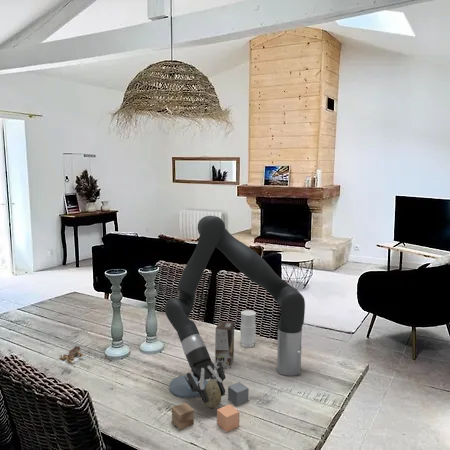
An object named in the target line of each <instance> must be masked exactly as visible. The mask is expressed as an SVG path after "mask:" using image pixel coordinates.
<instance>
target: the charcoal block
mask: <svg viewBox="0 0 450 450" xmlns="http://www.w3.org/2000/svg"><path fill="white" fill-rule="evenodd" d="M227 400H228V401H229V402H231V403H232V404H233V405H235V406H236V407H239V406H240V405H243V404H246V403H249V387H248V386H246V385H245V384H244V383H243V382H241V381H238V382H236V383H233V384H231V385H228V386H227Z"/></svg>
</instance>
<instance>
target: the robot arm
mask: <svg viewBox="0 0 450 450" xmlns="http://www.w3.org/2000/svg"><path fill="white" fill-rule="evenodd" d="M197 232H198V234H199V238H198V241H197V244H196V247H195V249H194V251H193V253H192V255H191V257H190V258H189V260H188V262H187V263H186V265H185V267H184V269H183V271H182V273H181V276H180V278H179V280H178V283H177V290H178V291H179V297H178V298H177V297H176V298H175V297H172V298H169V299H168V300H166V302H165V305H164V313H165V315H166V318H167V319H168V321H169V323H170V324H171V326H172V327H173V328H174V330H175V331H176V333H177V336H178V337H179V341H180V344H181V348H182V351H183V354H184V355H185V358H186V361H187V363H188V365H189V367H190V369H191V370H190V372H187V373H186V374H184V375H185V379H186V381H187V383H188V384H189V386H190V388H191V390H192V392H199V394H200V396H199V397H200V399H201V401H202V402H203V404H204V403H206V402H208V401H209V399H208V397H207V394H206V392H205V389H204V390H203V385H204V380H205V379H206V380H211V379H213V380H215V381H216V382H217V384H218V386H219V388H220V392H221V397H224V396H226V388H225V385H224V384H223V381H225V380H226V378H227V377H226V373H225V370H224V367H223V366H222V363H221V362H219V363H217V364H215V362H214V363H213V362H212V359H211V356H210V353H209V351H208V349H207V347H206V346H207V345H206V344H205V341H204V340H203V337H202V336H201V334H200V332H199V329H198V327H197V325H196V323H195V321H193V320H192V319H190V318H189V316H190V315H191V314H192V311H193V309H194V304H195V299H196V298H195V297H196V291H198V290H197V289H198V287H199V285H200V282H201V280H202V279H203V278H202V277H203V276H204V272H205V270H206V267H207V265H208V263H209V261H210V259H211V257H212V254H213V253H214V251H215V249H218V251H220V252H221V253H222V254H223V255H224V256H225V257H226V258H227V259H228V260H229V262H230V263H232V265H234V267H235V268H236V269H238V270H239V272H240V273H242V274H243V275H244V276H245V277H246V278H247V279H249V280H250V281H252V282H253V283H254V284H256V285H257V286H259V287H261V288H263V289H264V290H265V291H267V293H268V294H270V296H271V297H272V298H273V299H274V300H275V301H276V303H277V304H278V305H279V307H280V320H279V321H277V322H278V324H277V348H276V349H277V353H276V355H277V356H276V370H277V372H278V374H281V375H283V376H288V377H293V376H300V375H301V369H302V337H303V331H302V330H303V325H304V323H305V314H306V313H305V310H306V301H305V300H306V299H305V298H304V296H303V295H302V294H301V292H300V291H299V290H298V289H297V288H295V287H293V286H292V285H291V284H290V283H288V282H286V281H285V280H284V279H283V278H281V276H279V275H278V274H277V273H276V272H275V271H274V270H273V269H272V267H271V265H269V264H268V262H266V260H265V259H264V258H263V257H262V256H260V255H259V254H258V252H256V251H254V250H253V249H252V248H251V247H249V246H248V245H247V244H245V243H244V242H242V241H240V240H238V239H237V238H236V237H234V236H233V235H232V233H230V232H229V230H227V229H226V225H225V222H224V221H223V219H222V218H220V216H216V215H207V216H206V215H205V216H204V217H201V219H199V221H198V224H197ZM193 376H195V377H196V378H197V384H196V383H195V381H194V379H193Z"/></svg>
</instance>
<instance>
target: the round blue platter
mask: <svg viewBox="0 0 450 450" xmlns="http://www.w3.org/2000/svg"><path fill="white" fill-rule="evenodd" d="M185 375H186V374H184V375H180V376H177V377H174V378H172V380H171V381H170V382H169V392H170V393H171V394H172V395H173V396H175V397H178V398H181V399H192V398H197V397H200V394H199V392H192V390H191V388H190V386H189V384H188V383H187V381H186V379H185ZM193 379H194V381H195V383H196V384H197V378H196V377H195V376H193ZM208 381H209V380H208V379H205V380H204V385H203V390H204V389H205V386H206V384H207V382H208Z"/></svg>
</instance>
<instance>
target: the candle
mask: <svg viewBox="0 0 450 450" xmlns="http://www.w3.org/2000/svg"><path fill="white" fill-rule="evenodd" d="M256 314H257V312H256V311H254V310H250V309H246V310H245V309H244V310H242V311H241V312H240V316H241V320H240V321H241V323H240V332H239V333H240V342H241V346H242V347H243V348H253V347H254V346H255V342H256V333H257V330H256V326H257V325H256ZM252 346H253V347H252Z"/></svg>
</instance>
